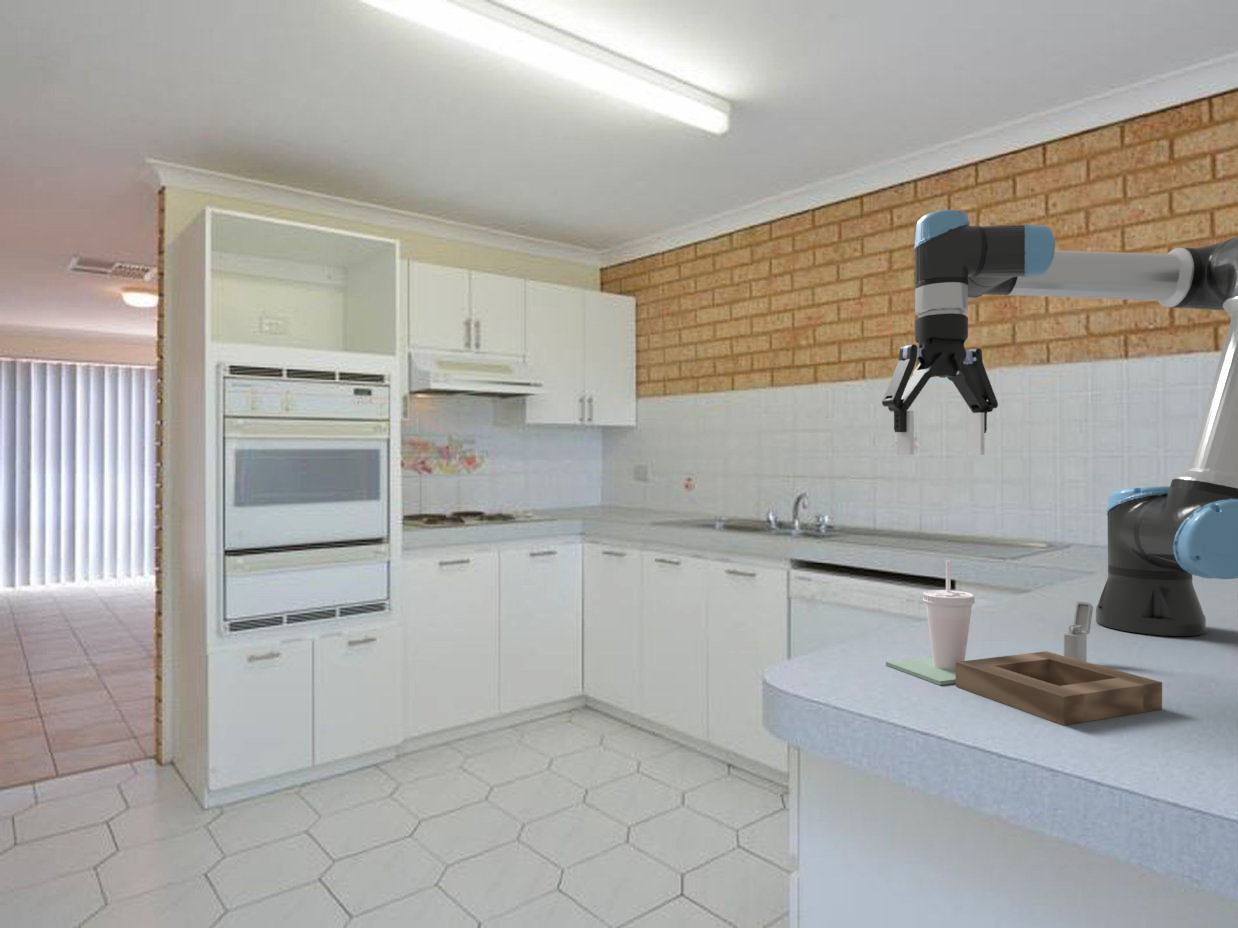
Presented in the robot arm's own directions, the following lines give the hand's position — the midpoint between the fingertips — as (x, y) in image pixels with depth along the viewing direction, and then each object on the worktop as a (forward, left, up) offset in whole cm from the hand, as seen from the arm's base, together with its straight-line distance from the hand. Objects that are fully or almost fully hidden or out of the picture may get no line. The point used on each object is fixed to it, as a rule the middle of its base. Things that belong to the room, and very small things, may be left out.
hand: (941, 454), depth 118 cm
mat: (+11, +13, -29) cm, 33 cm away
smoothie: (+11, +13, -28) cm, 33 cm away
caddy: (+8, +26, -29) cm, 40 cm away
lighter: (-9, +16, -29) cm, 34 cm away
